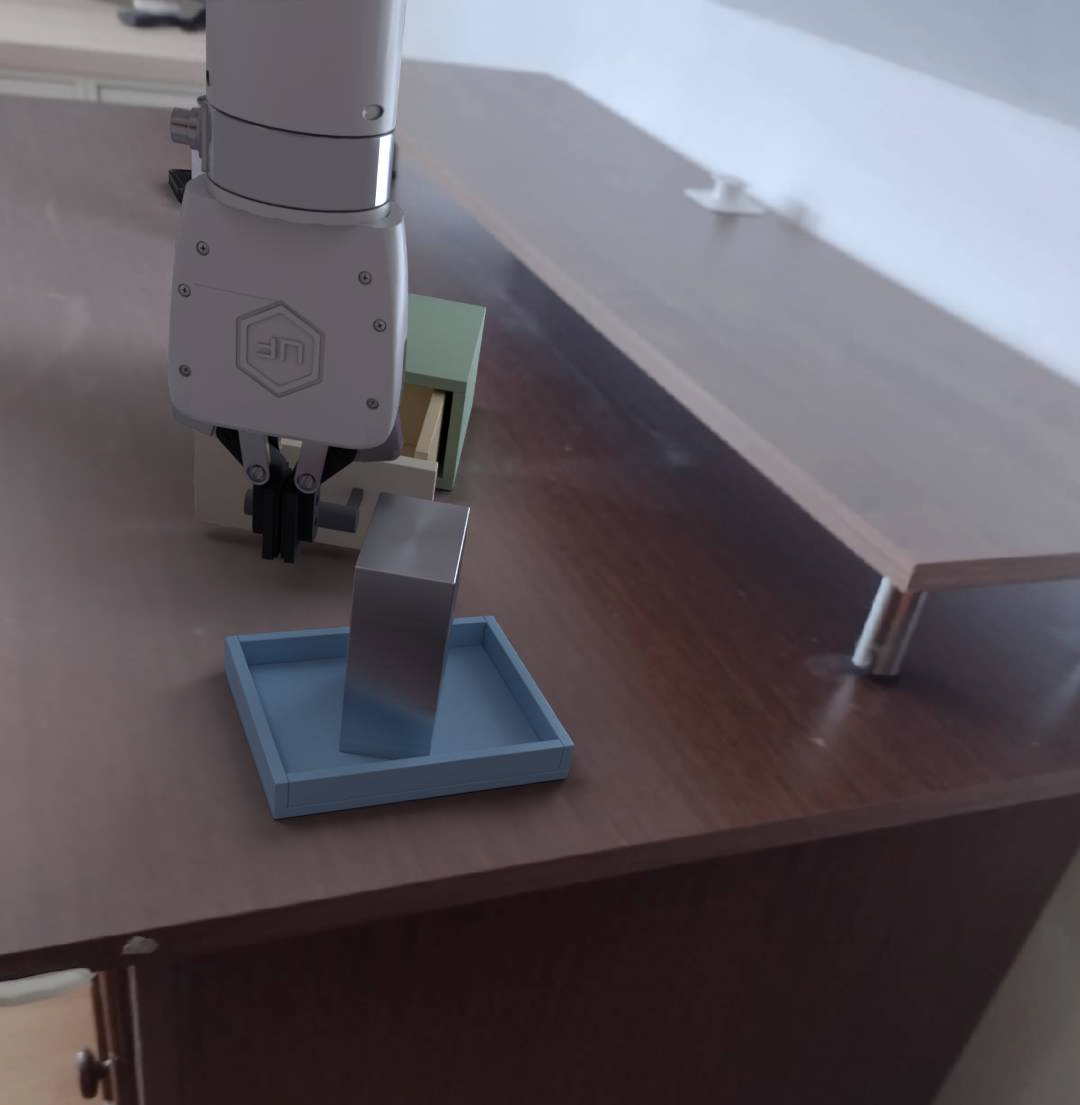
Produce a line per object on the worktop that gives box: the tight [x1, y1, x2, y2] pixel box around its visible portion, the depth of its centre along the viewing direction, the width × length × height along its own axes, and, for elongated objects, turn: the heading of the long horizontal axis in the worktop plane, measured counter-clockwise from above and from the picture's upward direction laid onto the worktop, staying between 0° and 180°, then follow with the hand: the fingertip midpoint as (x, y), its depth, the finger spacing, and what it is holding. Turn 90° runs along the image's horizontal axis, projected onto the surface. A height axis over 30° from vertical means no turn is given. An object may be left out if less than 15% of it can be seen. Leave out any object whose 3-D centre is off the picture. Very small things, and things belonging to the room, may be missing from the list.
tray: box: [224, 615, 575, 820], centre depth 58 cm, size 14×11×2 cm
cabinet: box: [404, 292, 487, 492], centre depth 82 cm, size 15×15×8 cm
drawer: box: [193, 383, 447, 551], centre depth 71 cm, size 17×13×6 cm
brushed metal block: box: [339, 492, 471, 760], centre depth 55 cm, size 4×7×10 cm, turn 177°
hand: (284, 547), depth 60 cm, fingers closed
